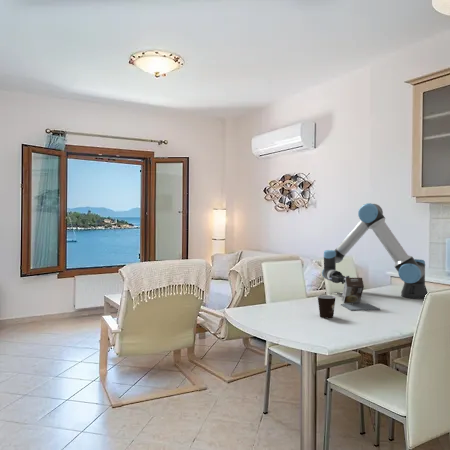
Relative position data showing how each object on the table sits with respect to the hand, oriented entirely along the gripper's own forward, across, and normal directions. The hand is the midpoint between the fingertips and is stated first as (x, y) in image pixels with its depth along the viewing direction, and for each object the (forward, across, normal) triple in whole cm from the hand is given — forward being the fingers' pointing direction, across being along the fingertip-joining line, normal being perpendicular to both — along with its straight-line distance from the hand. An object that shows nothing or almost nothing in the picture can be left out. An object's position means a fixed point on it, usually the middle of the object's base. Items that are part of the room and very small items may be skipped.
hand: (349, 282), depth 242 cm
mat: (+12, -1, -12) cm, 17 cm away
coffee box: (0, -1, -10) cm, 10 cm away
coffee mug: (+30, +23, -12) cm, 40 cm away
